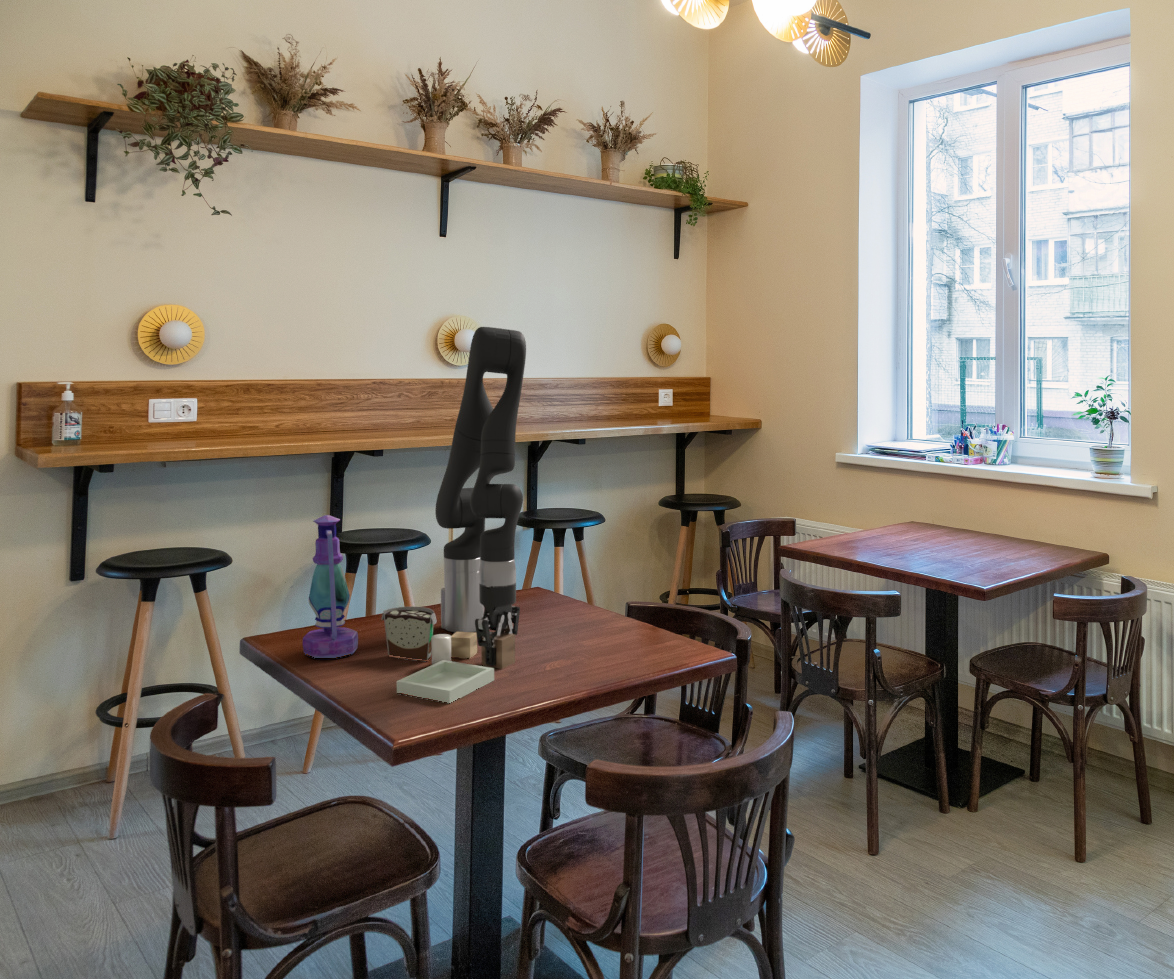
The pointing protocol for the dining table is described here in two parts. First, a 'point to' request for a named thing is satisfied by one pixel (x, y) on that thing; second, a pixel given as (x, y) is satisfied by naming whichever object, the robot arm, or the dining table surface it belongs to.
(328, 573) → the lantern
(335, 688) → the dining table surface
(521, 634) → the dining table surface
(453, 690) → the tray
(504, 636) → the walnut block
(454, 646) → the oak cube
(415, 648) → the food container
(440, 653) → the ceramic shaker
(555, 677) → the dining table surface
